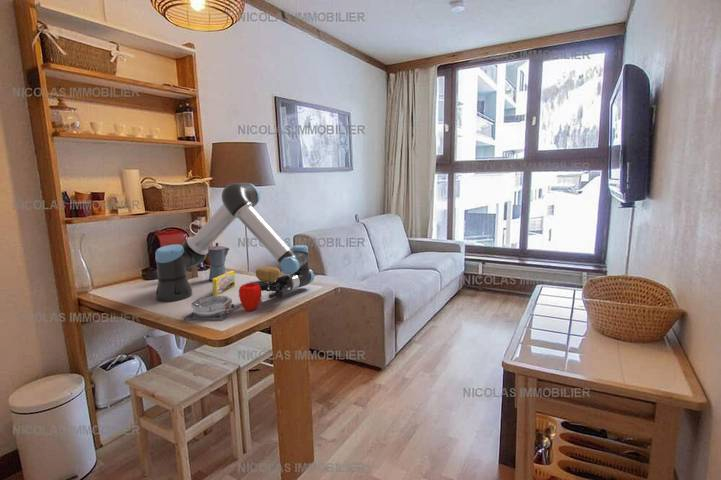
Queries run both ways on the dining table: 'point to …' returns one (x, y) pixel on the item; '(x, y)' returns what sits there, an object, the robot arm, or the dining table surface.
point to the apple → (250, 296)
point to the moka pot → (217, 260)
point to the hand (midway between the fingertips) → (250, 296)
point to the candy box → (223, 283)
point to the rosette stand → (212, 308)
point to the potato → (267, 274)
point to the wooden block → (192, 272)
